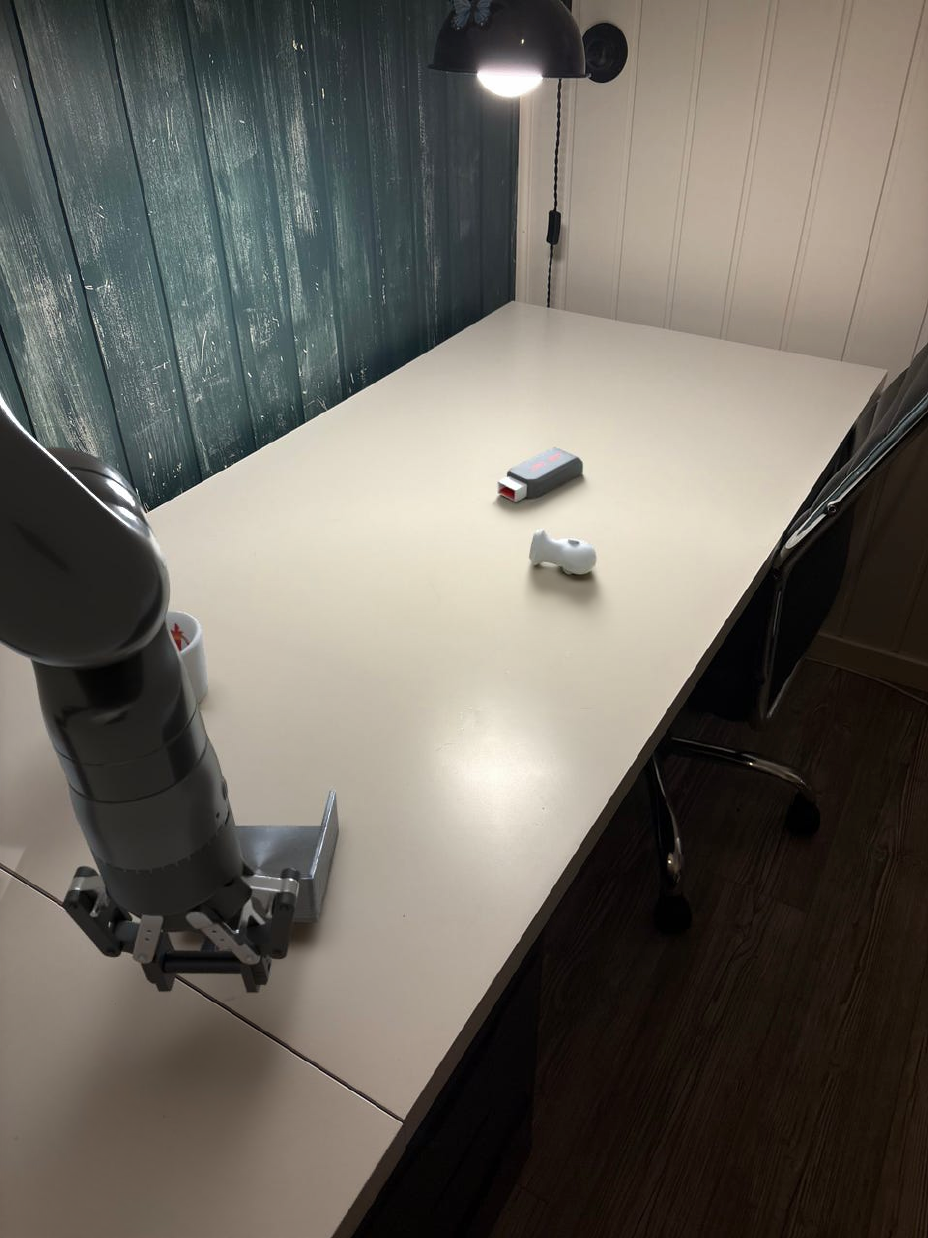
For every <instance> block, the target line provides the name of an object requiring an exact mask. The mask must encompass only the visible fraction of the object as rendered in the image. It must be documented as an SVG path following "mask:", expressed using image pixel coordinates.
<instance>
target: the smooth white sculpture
mask: <svg viewBox="0 0 928 1238" xmlns="http://www.w3.org/2000/svg"><path fill="white" fill-rule="evenodd" d="M528 559H529V560H530V561H531V562H532V563H533V565H534V566H537V565H538V564H540V563H543V562H544V563H545V562H546V563H550V564H554V565H557V566H560V567H562V571H563V572H564V573H565V574H567V575H572V574H574V575H575V574H576V575H586V574H588V573H590V572H591V571H592V570H593V569H594V567H595V565H596V563H597V552H596V550H595V548H594V547H593V546H592V545H591V544H590V543H588V542H586V541H583V540H580V539H577V538H571V537H570V538H561V539H554V538H552V537H550V536H549V535H548V534H547V532H546V530H545V528H544V529H540V530H535V531H534V533H533V536H532V539H531V543H530V547H529V555H528Z"/></svg>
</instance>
